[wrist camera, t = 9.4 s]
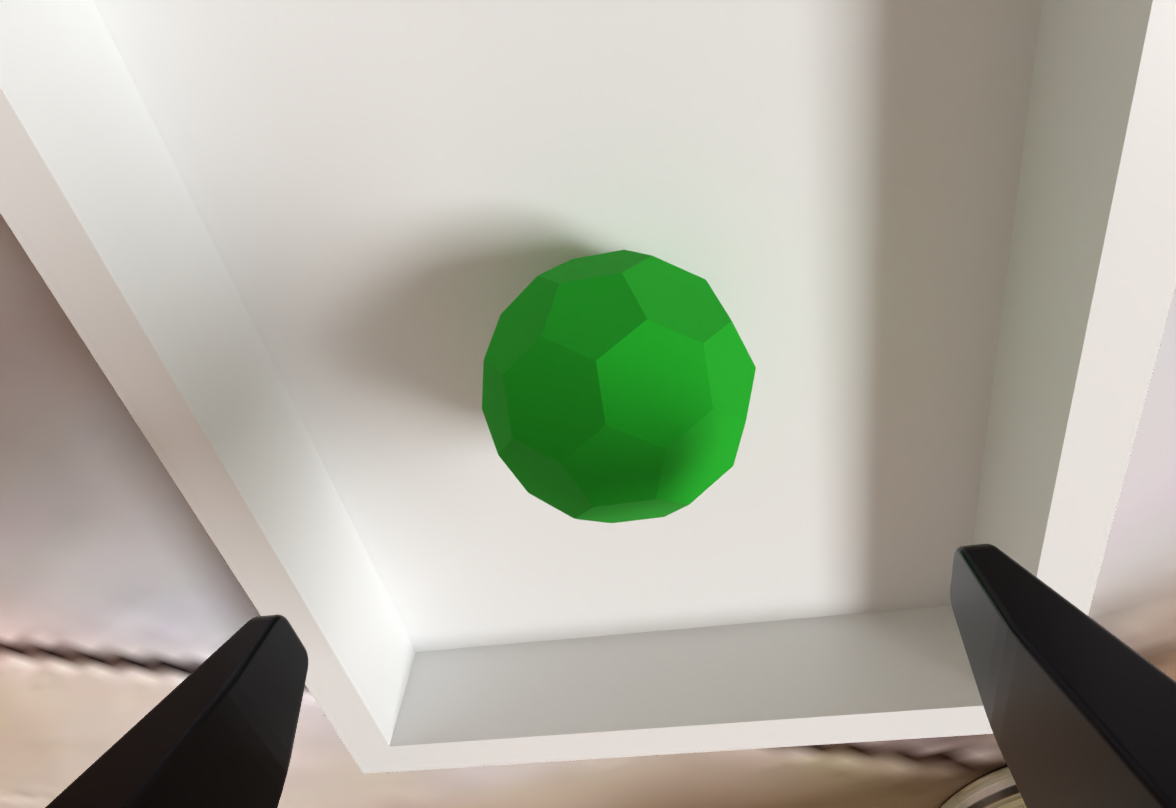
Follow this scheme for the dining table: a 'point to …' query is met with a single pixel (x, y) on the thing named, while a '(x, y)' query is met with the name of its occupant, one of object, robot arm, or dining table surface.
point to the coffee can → (989, 793)
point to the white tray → (589, 227)
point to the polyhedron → (617, 387)
